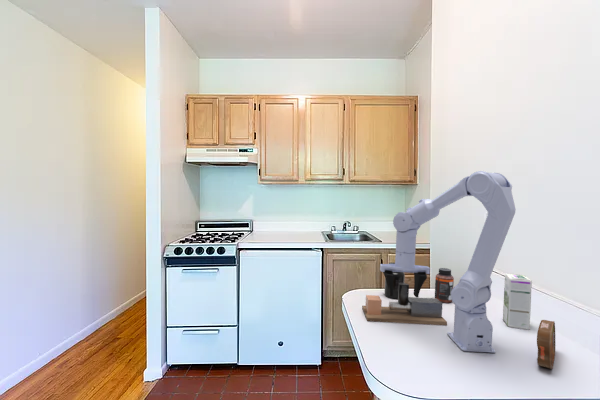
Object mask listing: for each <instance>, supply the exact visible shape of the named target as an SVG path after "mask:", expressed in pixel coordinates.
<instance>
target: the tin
mask: <svg viewBox="0 0 600 400" xmlns="http://www.w3.org/2000/svg"><path fill="white" fill-rule="evenodd" d="M538 325H539V326H538V329H537V333H536V347H537V358H536V361H537V365H538V366H539V367H544V368H547V369H550V370H553V368H554V362H555V357H556V323H555V321H554V320H553V321H552V320H547V319H541V320H540V323H539V324H538Z"/></svg>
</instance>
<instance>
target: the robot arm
mask: <svg viewBox="0 0 600 400" xmlns="http://www.w3.org/2000/svg"><path fill="white" fill-rule="evenodd" d="M512 189H513V184H512V183H511V182H510V181H509V180H508V178H507V177H506V176H505V175H504V174H502V173H500V172H488V171H484V170H478V171H475V172H473V173H471V174H470V175H468V176H465V177H463V178H462V179H461V180H459V181H458V182H457V183H456V184H453V186H451V187H449V188H447V190H445V191H444V192H441V194H439V195H437V196H436V197H435V198H433V199H430V198H421V199H419V200H418V203H417V204H415V205H413V206H412V207H408V208H407V209H406V211H400V212H397V213H396V214H395V216H394V217H393V220H392V222H393V223H392V224H393V227H394V229H396V233H395V234H396V236H395V237H396V238H395V239H396V240H395V256H394V257H395V260H394V263H395V264H389V263H380V264H379V271H380V272H381V273H383V275H384V279H385V278H386V281H387V285H388V290H389V295H390V296H393V281H394V275H393V273H392V272H404V273H410V274H411V273H412V274H413V278H414V280H413V281H414V282H413V283H414V284H413V296H414V297H416V298H419V295H420V291H421V289H422V287H423V285H424V283H425V281H427V278H428V276H427V275H430V272H431V267H429V266H427V265H418V264H417V265H416V250H417V249H416V246H417V236H418V235H417V234H418V230H419V229H420V228H421V226H422V225H423V224H425V223H427V222H429V221H432V220H433V219H434V218H437V217H439V214H440V212H441V211H440V210H442V209H444V208H445V207H447V206H450V205H451V204H454V203H456V202H457V201H459V200H461V199H463V198H465V197H474V198H475V199H476V200H478V201H479V202H480V203H481V204H482V205H483V207H484V208H485V210H486V211H487V216H486V219H485V222H484V225H483V227H482V229H481V232H480V235H479V238H478V240H477V243H476V246H475V249H474V251H473V254H472V256H471V259H470V262H469V264H468V267H467V269H466V271H465V272H464V273H463V275H461V277H460V278H459V281H458V283H457V284H456V285H455V286H453V289H452V291H451V299H452V303H453V305H454V313H453V315H454V317H453V318H454V319H453V332H451V331H447V333H446V334H447V335H448V337H449V338H451V340H452V341H453V342H454V343H455V345H456V346H457V347H458V348H459V349H460V351H463V352H476V353H477V352H478V353H479V352H480V353H496V349H494V348H493V347H492V346H493V344H492V343H493V331H494V329H493V328H494V327H493V324H492V323H491V321H490V319H489V318H488V315H487V305H486V304H487V303H488V302H489V301H490V300H491V298H492V289H491V287H492V283H493V281H492V278H491V275H492V273H493V270H494V268H495V266H496V263H497V260H498V257H499V255H500V252H501V251H502V247H503V246H504V245H503V244H504V242H505V239H506V237H507V235H508V232H509V231H510V230H509V229H510V227H511V226H512V225H511V224H512V222H513V219H514V216H515V214H516V205H515V200H514V197H513V192H512Z"/></svg>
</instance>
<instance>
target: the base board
mask: <svg viewBox="0 0 600 400" xmlns="http://www.w3.org/2000/svg"><path fill="white" fill-rule="evenodd" d="M365 306H366V305H362V312H363V314H364V316H365V319H366V322H373V323H374V322H378V323H395V324H397V323H398V324H414V325H430V324H431V325H432V326H433V325H434V326H435V325H436V326H448V321H447V320H446V319H445V318H444V316H442V318H431V317H412V316H410V314H409V313H408V311H405V310H390V309H389V306H383V305H381V315H373V314H367V311H366V309H365Z"/></svg>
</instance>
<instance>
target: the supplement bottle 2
mask: <svg viewBox="0 0 600 400" xmlns="http://www.w3.org/2000/svg"><path fill="white" fill-rule="evenodd" d="M454 280H455V277H454V276H453V275H452V270H451V268H447V267H440V268H438V273H437V274H436V275H435V282H434V298H436V299H438V300H439V301H440V302H441V303H445V304H447V303H448V304H450V303H453V301H452V299H451V291H452V289H453V288H454V283H455V281H454Z"/></svg>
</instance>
